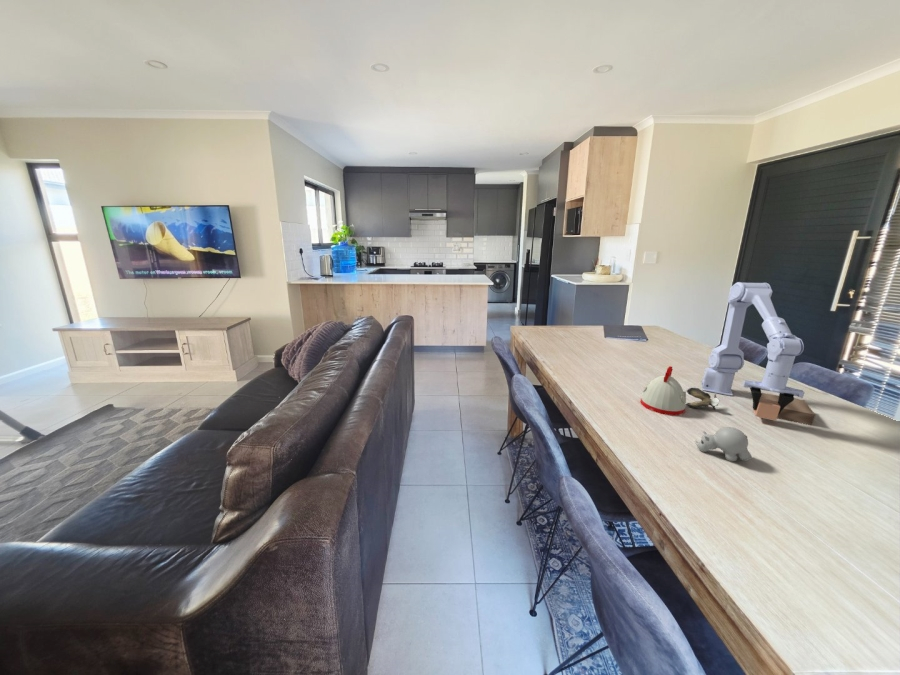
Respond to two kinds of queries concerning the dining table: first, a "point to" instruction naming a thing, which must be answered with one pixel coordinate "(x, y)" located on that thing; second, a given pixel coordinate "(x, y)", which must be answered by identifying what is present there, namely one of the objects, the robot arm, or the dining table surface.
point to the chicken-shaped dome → (664, 395)
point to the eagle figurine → (704, 397)
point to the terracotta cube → (767, 409)
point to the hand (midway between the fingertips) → (765, 411)
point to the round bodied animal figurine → (726, 443)
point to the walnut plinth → (794, 410)
